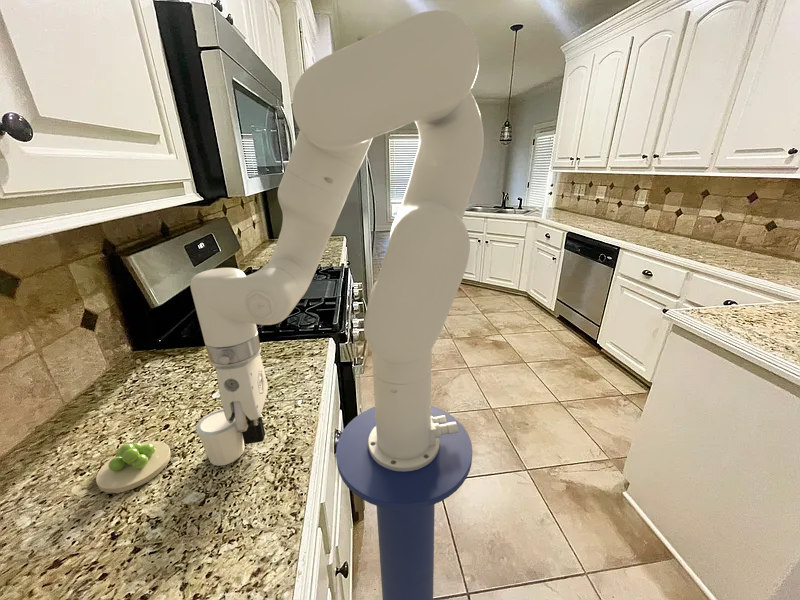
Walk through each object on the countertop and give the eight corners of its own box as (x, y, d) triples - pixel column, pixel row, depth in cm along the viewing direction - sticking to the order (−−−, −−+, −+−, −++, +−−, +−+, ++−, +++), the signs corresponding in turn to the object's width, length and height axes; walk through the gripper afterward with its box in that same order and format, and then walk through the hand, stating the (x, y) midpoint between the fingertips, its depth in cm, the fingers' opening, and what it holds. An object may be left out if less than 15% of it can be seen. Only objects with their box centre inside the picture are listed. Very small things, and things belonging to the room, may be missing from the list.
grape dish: (180, 441, 63) (173, 419, 61) (155, 486, 54) (146, 462, 52) (119, 450, 61) (110, 427, 60) (82, 499, 52) (70, 474, 50)
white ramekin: (238, 468, 57) (229, 434, 54) (197, 469, 57) (186, 435, 54) (254, 438, 63) (247, 406, 61) (217, 439, 63) (209, 407, 61)
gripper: (249, 368, 48) (271, 469, 54) (266, 325, 62) (282, 409, 68) (191, 375, 46) (220, 478, 53) (222, 330, 60) (242, 415, 67)
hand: (255, 439), depth 60 cm, fingers closed
